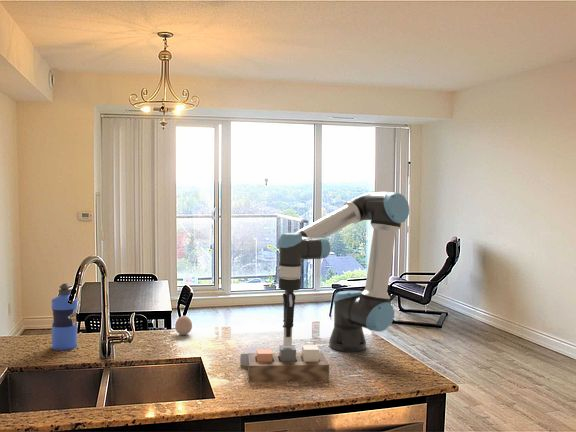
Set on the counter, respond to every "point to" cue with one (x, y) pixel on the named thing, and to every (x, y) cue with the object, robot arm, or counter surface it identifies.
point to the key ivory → (310, 353)
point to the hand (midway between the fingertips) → (287, 345)
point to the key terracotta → (264, 355)
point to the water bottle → (64, 321)
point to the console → (287, 369)
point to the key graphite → (287, 353)
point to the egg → (183, 325)
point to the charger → (245, 354)
